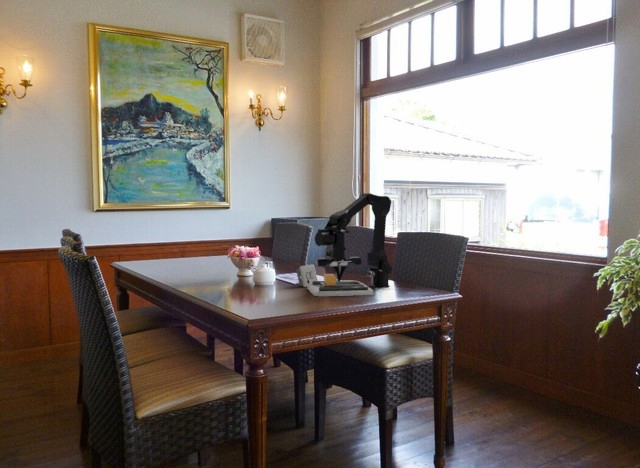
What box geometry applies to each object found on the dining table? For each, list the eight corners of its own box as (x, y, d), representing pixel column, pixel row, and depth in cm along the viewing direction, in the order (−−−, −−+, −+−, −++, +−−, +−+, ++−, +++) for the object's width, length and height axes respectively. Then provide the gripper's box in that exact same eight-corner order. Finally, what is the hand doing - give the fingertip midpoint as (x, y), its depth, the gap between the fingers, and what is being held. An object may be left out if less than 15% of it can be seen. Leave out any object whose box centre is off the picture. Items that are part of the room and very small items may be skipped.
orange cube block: (333, 285, 236) (333, 273, 236) (335, 287, 231) (336, 275, 231) (323, 285, 235) (324, 274, 235) (326, 287, 230) (326, 275, 230)
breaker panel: (361, 287, 245) (362, 279, 245) (373, 294, 228) (373, 286, 227) (307, 288, 241) (307, 280, 241) (314, 296, 223) (314, 287, 223)
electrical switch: (305, 287, 244) (303, 266, 244) (296, 287, 247) (294, 266, 247) (318, 285, 251) (317, 264, 251) (309, 284, 254) (308, 264, 254)
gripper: (355, 242, 242) (355, 278, 243) (312, 243, 239) (313, 279, 240) (362, 244, 231) (362, 282, 232) (317, 245, 228) (318, 284, 229)
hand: (338, 281), depth 234 cm, fingers closed
